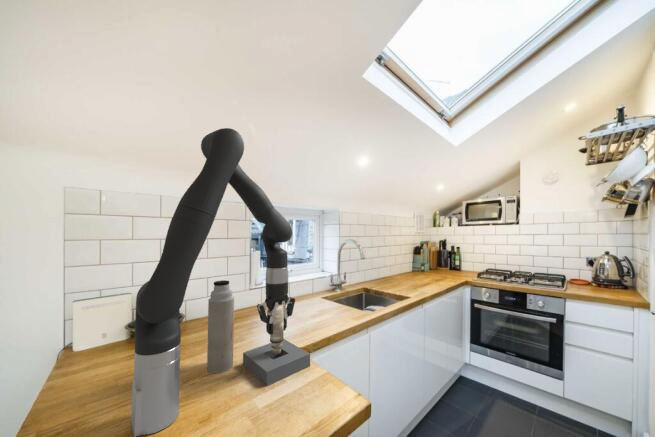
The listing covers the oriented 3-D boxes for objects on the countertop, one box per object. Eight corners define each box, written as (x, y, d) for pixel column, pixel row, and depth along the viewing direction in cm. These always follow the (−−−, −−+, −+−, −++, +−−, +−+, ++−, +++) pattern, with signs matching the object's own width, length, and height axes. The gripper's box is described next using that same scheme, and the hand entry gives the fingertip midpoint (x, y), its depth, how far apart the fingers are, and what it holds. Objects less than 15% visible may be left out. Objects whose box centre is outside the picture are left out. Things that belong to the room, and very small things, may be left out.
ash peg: (274, 357, 82) (274, 306, 83) (267, 352, 86) (267, 303, 86) (286, 352, 85) (286, 304, 86) (279, 347, 89) (279, 301, 89)
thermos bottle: (235, 359, 89) (236, 278, 90) (230, 372, 81) (231, 283, 83) (211, 361, 88) (212, 279, 89) (203, 374, 80) (205, 284, 81)
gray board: (266, 386, 74) (267, 372, 74) (242, 364, 86) (243, 352, 86) (310, 366, 85) (310, 353, 85) (283, 349, 97) (283, 338, 97)
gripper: (263, 285, 79) (263, 341, 78) (300, 279, 88) (300, 329, 88) (252, 281, 84) (251, 334, 84) (288, 276, 94) (288, 323, 93)
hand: (276, 331), depth 86 cm, fingers closed on ash peg, 4 cm apart
